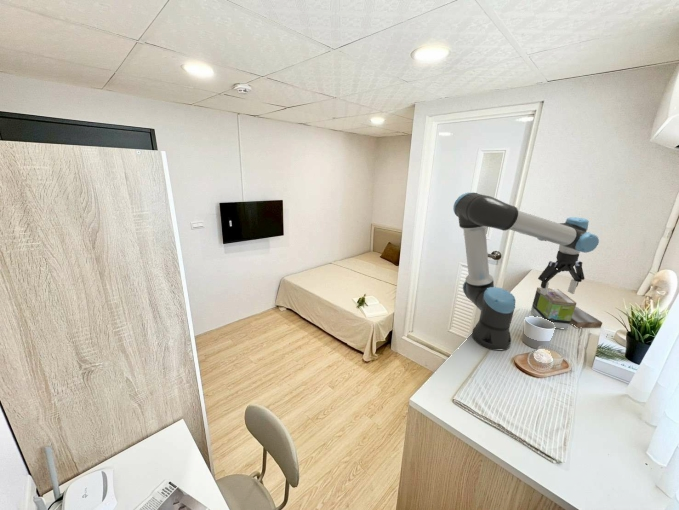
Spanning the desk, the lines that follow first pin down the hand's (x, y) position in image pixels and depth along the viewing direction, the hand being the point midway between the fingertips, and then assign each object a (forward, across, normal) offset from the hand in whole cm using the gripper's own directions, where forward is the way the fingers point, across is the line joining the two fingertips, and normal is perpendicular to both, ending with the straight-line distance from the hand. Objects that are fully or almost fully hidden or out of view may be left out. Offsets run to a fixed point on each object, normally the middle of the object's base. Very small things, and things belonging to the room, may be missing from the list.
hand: (556, 293), depth 125 cm
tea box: (+16, +1, 0) cm, 16 cm away
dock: (+15, -13, -2) cm, 20 cm away
